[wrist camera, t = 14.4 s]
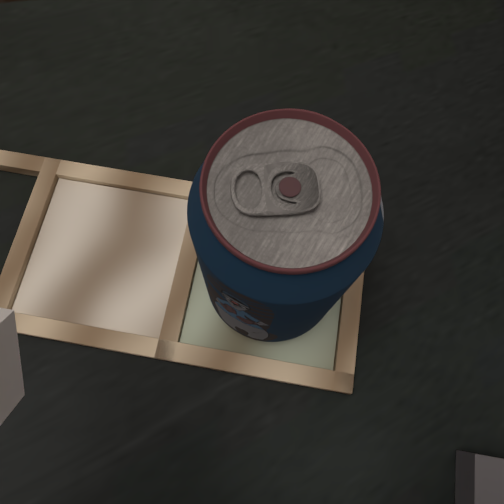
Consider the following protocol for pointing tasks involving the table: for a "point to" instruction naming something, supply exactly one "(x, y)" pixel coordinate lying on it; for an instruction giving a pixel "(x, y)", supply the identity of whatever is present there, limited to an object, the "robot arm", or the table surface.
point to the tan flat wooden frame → (145, 279)
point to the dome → (478, 479)
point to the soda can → (283, 220)
